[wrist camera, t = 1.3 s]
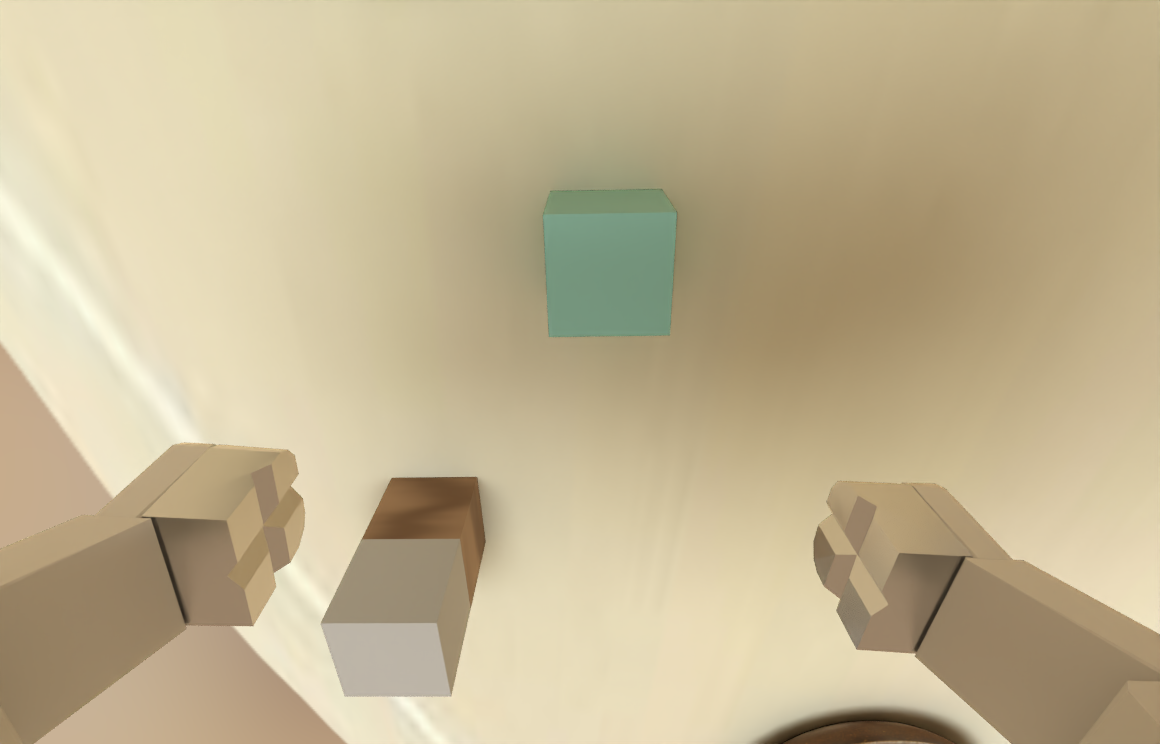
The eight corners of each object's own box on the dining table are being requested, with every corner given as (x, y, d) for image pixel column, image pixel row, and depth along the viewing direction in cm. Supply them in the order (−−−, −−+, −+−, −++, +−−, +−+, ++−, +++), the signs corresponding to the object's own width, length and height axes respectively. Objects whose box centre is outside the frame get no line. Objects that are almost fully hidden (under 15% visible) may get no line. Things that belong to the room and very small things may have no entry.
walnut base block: (477, 476, 33) (460, 538, 29) (485, 541, 36) (470, 607, 31) (391, 477, 33) (361, 539, 29) (405, 541, 36) (379, 608, 31)
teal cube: (661, 188, 26) (676, 212, 21) (656, 294, 28) (669, 335, 24) (550, 190, 26) (542, 214, 21) (554, 295, 28) (548, 337, 24)
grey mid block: (460, 538, 29) (436, 623, 24) (470, 607, 31) (451, 696, 27) (361, 539, 29) (320, 623, 24) (379, 608, 31) (344, 696, 27)
